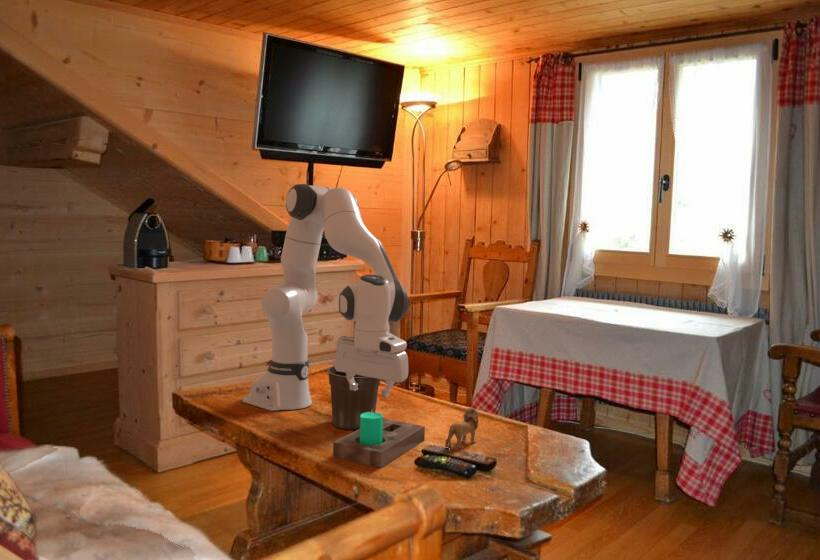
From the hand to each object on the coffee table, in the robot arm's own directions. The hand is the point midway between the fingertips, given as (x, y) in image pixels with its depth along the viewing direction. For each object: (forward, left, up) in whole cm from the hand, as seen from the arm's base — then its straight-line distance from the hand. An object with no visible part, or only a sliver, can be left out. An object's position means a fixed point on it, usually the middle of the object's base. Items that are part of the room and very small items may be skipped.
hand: (369, 393), depth 176 cm
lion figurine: (+17, +21, -17) cm, 32 cm away
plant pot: (-17, +20, -16) cm, 31 cm away
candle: (+1, +1, -16) cm, 16 cm away
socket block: (0, +6, -16) cm, 17 cm away
